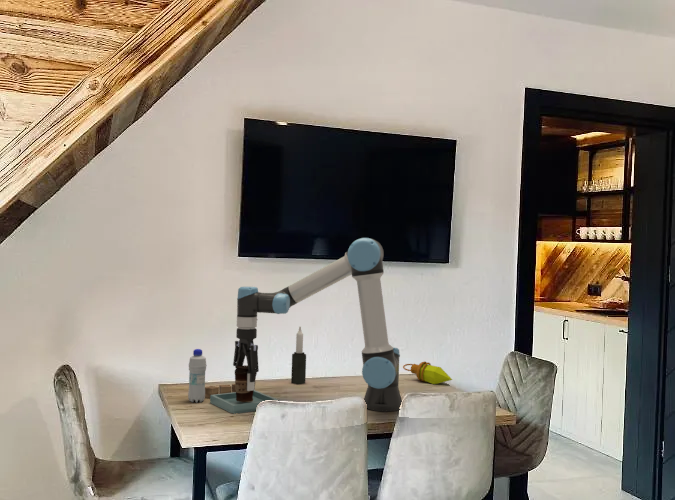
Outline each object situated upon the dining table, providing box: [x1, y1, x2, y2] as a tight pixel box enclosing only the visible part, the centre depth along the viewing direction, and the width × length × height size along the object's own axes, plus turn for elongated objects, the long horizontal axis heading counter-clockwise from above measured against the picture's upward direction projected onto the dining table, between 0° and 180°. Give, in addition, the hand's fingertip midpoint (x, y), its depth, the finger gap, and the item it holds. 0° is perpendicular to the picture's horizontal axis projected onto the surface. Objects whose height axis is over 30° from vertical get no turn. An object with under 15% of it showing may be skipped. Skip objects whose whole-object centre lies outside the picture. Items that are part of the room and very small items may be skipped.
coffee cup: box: [234, 364, 258, 402], centre depth 253 cm, size 9×8×13 cm
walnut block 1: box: [205, 385, 219, 399], centre depth 265 cm, size 4×4×4 cm
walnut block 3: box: [231, 383, 236, 393], centre depth 272 cm, size 4×4×4 cm
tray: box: [209, 389, 280, 415], centre depth 253 cm, size 19×19×3 cm
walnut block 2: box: [218, 384, 232, 394], centre depth 268 cm, size 4×4×4 cm
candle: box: [290, 326, 307, 385], centre depth 297 cm, size 5×5×25 cm
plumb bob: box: [402, 361, 453, 385], centre depth 308 cm, size 9×9×25 cm
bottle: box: [187, 348, 207, 404], centre depth 257 cm, size 7×7×20 cm
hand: (245, 388), depth 253 cm, fingers closed on coffee cup, 8 cm apart
